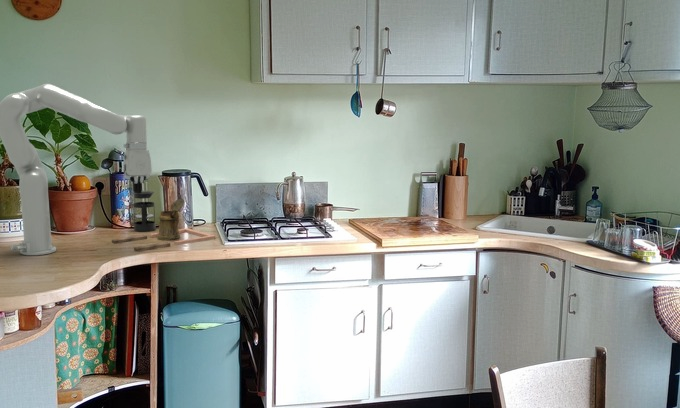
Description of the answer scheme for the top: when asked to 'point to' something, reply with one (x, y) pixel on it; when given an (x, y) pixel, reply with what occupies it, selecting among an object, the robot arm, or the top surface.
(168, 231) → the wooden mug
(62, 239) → the top surface
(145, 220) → the french press
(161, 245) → the walnut dock
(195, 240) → the frame
